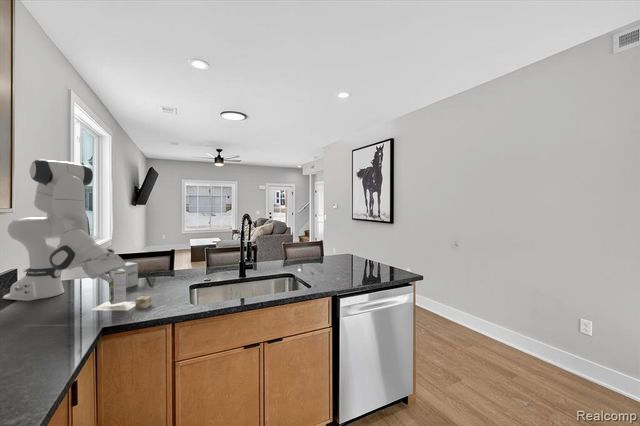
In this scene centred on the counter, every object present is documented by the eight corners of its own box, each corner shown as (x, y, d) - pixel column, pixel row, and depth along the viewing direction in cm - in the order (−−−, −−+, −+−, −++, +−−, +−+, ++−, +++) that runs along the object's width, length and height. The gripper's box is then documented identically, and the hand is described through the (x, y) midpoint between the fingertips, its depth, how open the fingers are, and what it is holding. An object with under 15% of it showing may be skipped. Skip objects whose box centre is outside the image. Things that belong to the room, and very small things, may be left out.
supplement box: (127, 288, 157) (127, 265, 156) (115, 287, 158) (115, 264, 158) (138, 284, 164) (138, 262, 164) (127, 283, 166) (127, 261, 165)
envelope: (89, 311, 124) (89, 310, 124) (106, 302, 135) (106, 301, 135) (127, 311, 125) (127, 310, 125) (141, 302, 136) (141, 301, 136)
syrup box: (108, 301, 130) (107, 270, 129) (124, 298, 134) (123, 268, 134) (111, 305, 126) (110, 272, 125) (126, 301, 130) (125, 270, 130)
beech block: (135, 309, 128) (135, 299, 128) (140, 305, 133) (140, 296, 132) (146, 309, 128) (146, 299, 128) (151, 305, 133) (151, 296, 133)
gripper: (83, 256, 118) (108, 280, 119) (115, 248, 139) (136, 269, 140) (72, 267, 118) (96, 290, 119) (105, 257, 139) (126, 277, 140)
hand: (118, 278), depth 130 cm, fingers closed on syrup box, 8 cm apart
